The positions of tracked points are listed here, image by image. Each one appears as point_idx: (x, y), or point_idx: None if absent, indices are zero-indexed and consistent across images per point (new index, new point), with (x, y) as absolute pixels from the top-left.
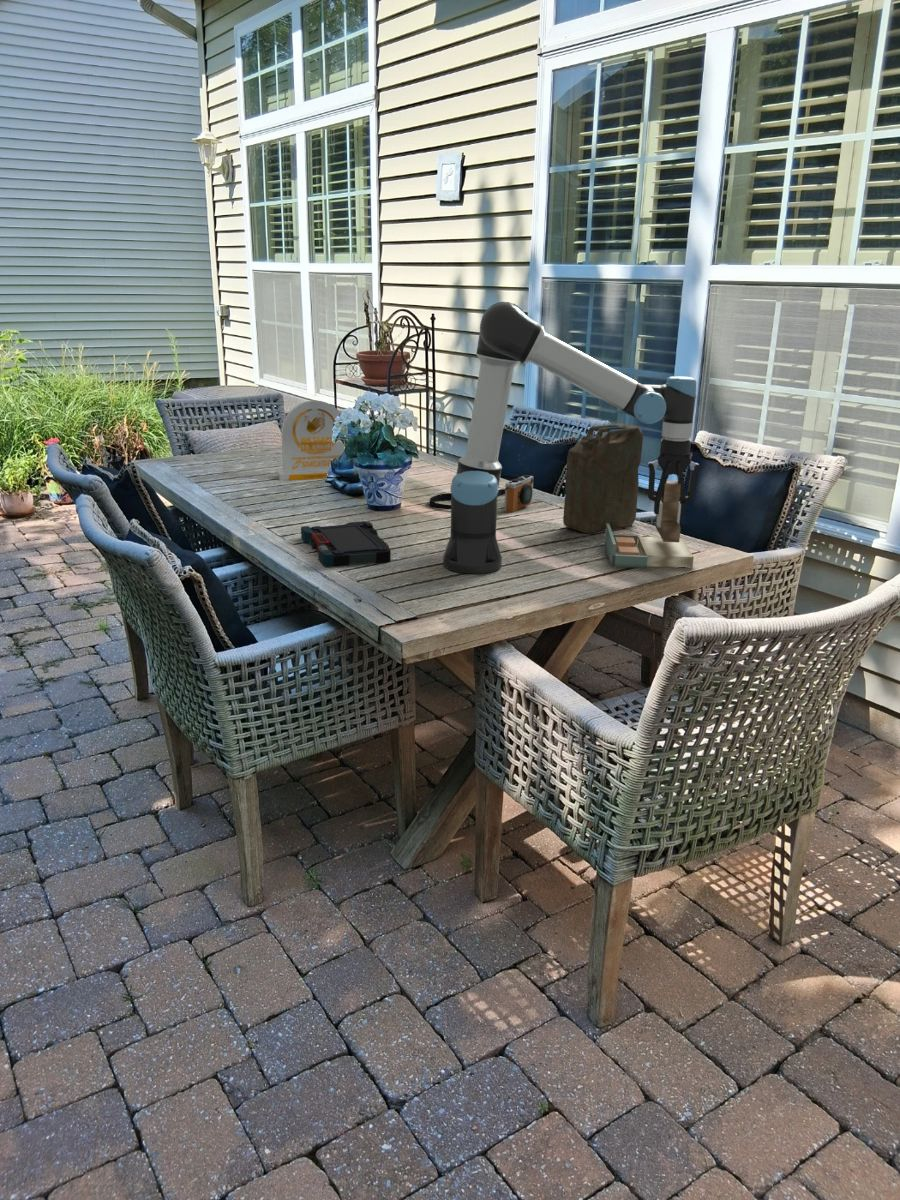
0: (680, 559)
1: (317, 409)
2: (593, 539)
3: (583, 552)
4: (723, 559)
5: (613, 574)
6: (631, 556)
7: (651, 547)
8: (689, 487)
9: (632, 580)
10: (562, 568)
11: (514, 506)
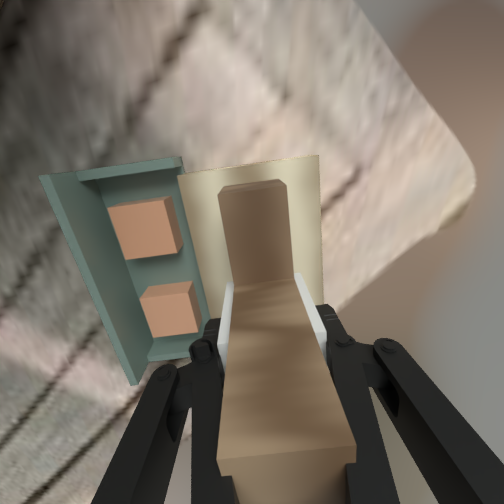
0: None
1: None
2: (37, 121)
3: (61, 265)
4: (406, 229)
5: None
6: (184, 357)
7: (224, 282)
8: (414, 444)
9: None
10: (64, 375)
11: None
